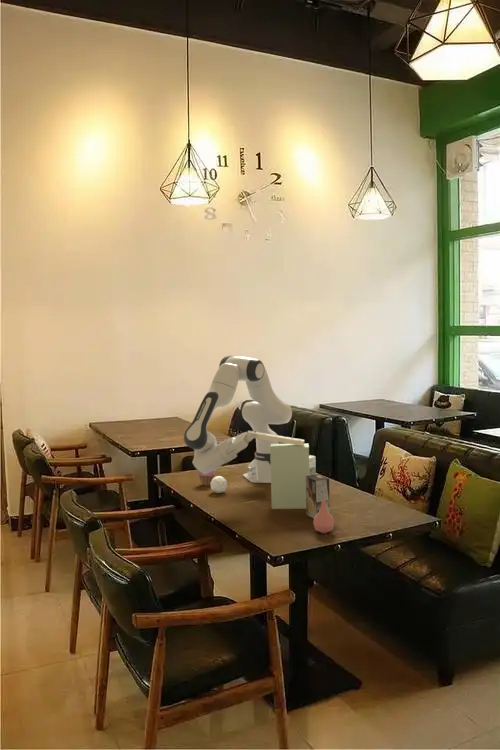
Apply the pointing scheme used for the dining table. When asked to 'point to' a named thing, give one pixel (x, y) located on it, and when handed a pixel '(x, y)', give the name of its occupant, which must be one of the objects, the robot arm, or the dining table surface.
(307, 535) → the dining table surface
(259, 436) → the domino bar
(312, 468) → the syrup box
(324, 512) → the pink vase
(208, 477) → the cupcake
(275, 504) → the shelf block
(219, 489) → the geometric ball
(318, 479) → the coffee box
